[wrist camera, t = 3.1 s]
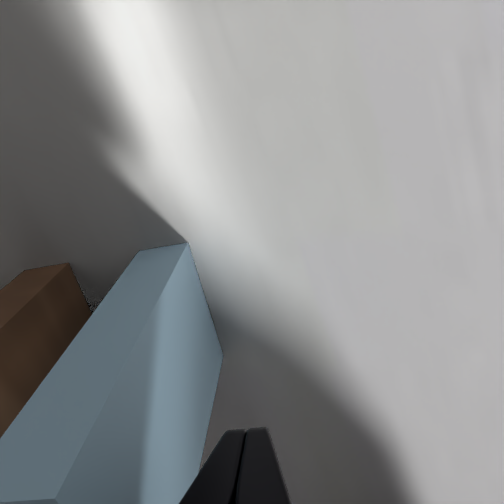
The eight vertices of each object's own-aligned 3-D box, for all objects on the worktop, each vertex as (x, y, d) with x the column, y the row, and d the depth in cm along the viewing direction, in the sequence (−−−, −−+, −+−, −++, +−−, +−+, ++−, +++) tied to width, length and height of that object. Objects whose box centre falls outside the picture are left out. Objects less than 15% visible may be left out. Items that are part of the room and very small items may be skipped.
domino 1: (68, 262, 13) (-192, 515, 6) (116, 368, 15) (-40, 658, 8) (24, 270, 14) (-275, 520, 6) (77, 373, 15) (-109, 657, 8)
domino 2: (187, 242, 13) (54, 499, 5) (223, 355, 14) (158, 659, 7) (139, 251, 13) (-50, 505, 6) (179, 361, 15) (76, 659, 8)
